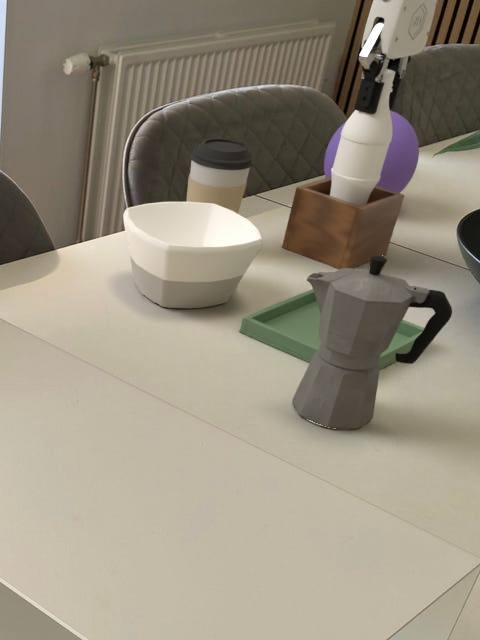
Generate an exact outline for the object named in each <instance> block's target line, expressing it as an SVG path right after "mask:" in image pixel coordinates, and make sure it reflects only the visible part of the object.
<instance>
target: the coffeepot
mask: <svg viewBox="0 0 480 640" xmlns="http://www.w3.org/2000/svg"><path fill="white" fill-rule="evenodd" d="M387 262H388V259H387V258H386V257H384V256H372V257H371V259H370V261H369V268H352V269H351V268H342V269H338V270H335V271H318V272H313V273H311V274H310V275H308V276H307V278H306V282H307V283H309V285H311V287H312V288H311V289H313V291H314V293H315V296H316V300H317V303H318V306H319V310H320V313H321V317H320V325H319V333H318V335H319V337H320V340H321V343H320V346H319V349H318V351H317V352H316V353H315V354H314V355H313V358H312V360H311V362H310V363H309V364H308V365H307V368H306V370H305V372H304V374H303V377H302V378H301V380H300V382H299V385H298V386H297V389H296V391H295V393H294V395H293V396H292V399H291V402H292V405H293V407H295V408H294V410H295V409H296V410H295V412H296V411H297V412H298V413H299V414H298V413H297V412H296V413H297V414H298V415H299V416H300V418H302V417H303V418H302V419H304V418H305V419H308V420H311V421H313V422H315V423H318V424H321V425H323V426H326V427H330V428H336V429H346V430H345V431H351V429H352V430H356V429H360V428H362V427H365V426H366V424H368V423H369V421H370V420H372V419H373V418H374V413H375V406H376V399H377V394H378V393H377V392H378V386H379V385H378V384H379V379H380V371H381V369H380V366H379V363H378V362H379V359H380V356H381V353H383V352H384V351H385V350H387V349H388V347H389V345H390V343H391V341H392V339H393V337H394V335H395V333H396V331H397V329H398V328H399V326H400V324H401V322H402V320H404V318H405V316H406V314H407V312H408V310H409V308H414V309H415V308H417V309H432V310H433V311H434V314H433V315H432V316H431V317H430V318H429V319H428V321H427V322H426V324H425V326H424V327H423V328H424V330H423V332H422V333H421V334H420V335H419V336H418V337H417V338H416V339H415V341H414V343H413V345H412V348H411V350H410V352H408V353H406V354H399V353H396V354H395V356H396V362H397V363H400V364H407V365H410V364H411V365H413V364H415V363H416V362H417V361H418V359H419V358H420V357H421V355H422V354H423V353H424V352H425V351H426V349H427V348H428V347H429V345H430V344H431V343H432V342H433V341H434V340H435V338H436V337H437V336H438V334H439V333H440V332H441V331H442V329H443V328H444V327H445V326H446V325H447V323H449V321H450V320H451V318H452V315H453V308H452V305H451V303H450V301H449V300H448V297H447V296H446V294H445V292H443V291H441V290H435V289H429V288H427V287H423V286H422V287H421V286H416V285H410V283H408V282H407V280H406V279H403V278H401V277H398V276H395V275H392V274H388V273H386V272H383V271H382V270H383V269H384V267H385V265H386V263H387ZM305 419H304V420H305ZM330 428H329V429H330ZM336 429H335V430H336ZM347 429H348V430H347ZM349 429H350V430H349Z"/></svg>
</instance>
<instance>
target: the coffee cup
mask: <svg viewBox="0 0 480 640" xmlns="http://www.w3.org/2000/svg"><path fill="white" fill-rule="evenodd" d="M189 158H190V160H191V162H190V164H191V165H190V172H189V173H188V178H187V179H188V180H187V189H186V191H187V192H186V201H185V202H199V203H212V204H216V205H219V206H221V207H224V208H226V209H229V210H231V211H234V212H235V213H237V214H239V211H240V209H241V204H242V202H243V198H244V194H245V191H246V187H247V184H248V177H249V173H250V170H251V167H252V166H253V155H252V154H251V153H250V152H249V146H248V142H247V141H245V140H243V139H241V140H233V139H229V138H223V137H210V138H205V139H202V141H201V142H200V144H199V145H197V146H195V147H194V148H193V151H192V153H191V154H190V157H189Z"/></svg>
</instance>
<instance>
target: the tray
mask: <svg viewBox="0 0 480 640" xmlns="http://www.w3.org/2000/svg"><path fill="white" fill-rule="evenodd" d="M320 317H321V313H320V310H319V306H318V303H317V300H316V296H315V293H314V291H313V288H311V289H308V290H307V291H304V292H301V293H299V294H296V295H295V296H292V297H289V298H287V299H284V300H282V301H279V302H276V303H274V304H271V305H270V306H267V307H265V308H262V309H260V310H257V311H255V312H253V313H250V314H248V315H244V316H243V317H242V320H241V324H240V328H239V333H241V334H243V335H246V336H248V337H249V338H253V339H255V340H257V341H259V342H261V343H264V344H266V345H268V346H271V347H273V348H275V349H277V350H280V351H282V352H284V353H286V354H289V355H291V356H294V357H296V358H298V359H300V360H302V361H305V362H307V363H309V364H310V362H311V360H312V358H313V355H314V354H315V353H316V352H317V351H318V349H319V346H320V343H321V340H320V337H319V335H318V333H319V325H320ZM424 328H425V327H422V326H420V325H417V324H415V323H413V322H410V321H407V320H405V319H403V320H402V322H401V324H400V326H399V328H398V329H397V331H396V333H395V335H394V337H393V339H392V341H391V343H390V345H389V347H388V349H387V350H385V351H384V352H383V353H381V356H380V359H379V362H378V363H379V366H380V370H383V369H384V368H386V367H388V366H390V365H392V364H394V363H396V362H397V361H396V356H395V354H396V353H399V354H406V353H408V352H410V350H411V348H412V345H413V343H414V341H415V339H416V338H417V337H418V336H419V335H420V334H421V333H422V332H423V330H424Z"/></svg>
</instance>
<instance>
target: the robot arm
mask: <svg viewBox="0 0 480 640" xmlns="http://www.w3.org/2000/svg"><path fill="white" fill-rule="evenodd" d="M437 3H438V0H372V3H371V5H370V10H369V13H368V16H367V19H366V23H365V27H364V30H363V35H362V40H361V51H360V53H359V56H358V61H359V63H360V65H361V68H362V72H361V75H360V79H361V82H360V84H359V85H360V86H359V88H358V93H357V97H356V101H355V104H354V111H355V110H357V111H361V112H365V113H368V114H375V113H376V111H377V107H378V104H379V100H380V97H381V93H382V90H383V86H384V83H383V82H381V81H382V79H383V77H384V74H385V71H386V69H389V70H393V71H395V77H394V80H393V83H392V84H393V86H392V89H393V90H392V92H390V95H389V109H390V111H392V110H393V108H394V105H395V103H396V99H397V95H398V92H399V88H400V85H401V83H402V78H404V76H405V74H406V71H407V70H406V69H407V66H408V65H409V63H410V62H411V60H412V58H413V57H414V56H415V55H418V54H420V53H421V52H422V51H423V50H425V48H426V45H427V42H428V38H429V35H430V31H431V27H432V23H433V19H434V16H435V12H436V7H437ZM378 52H381V54H380V53H378ZM383 54H384V55H383ZM377 60H378V61H380V62H379V63H380V64H379V63H378V61H377Z"/></svg>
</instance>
